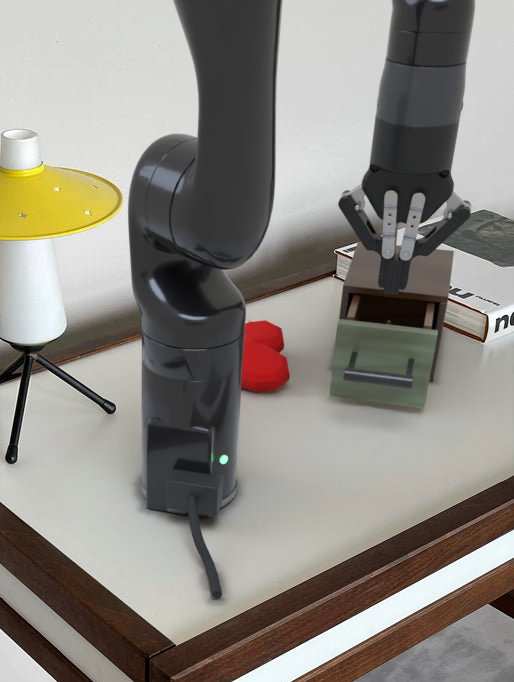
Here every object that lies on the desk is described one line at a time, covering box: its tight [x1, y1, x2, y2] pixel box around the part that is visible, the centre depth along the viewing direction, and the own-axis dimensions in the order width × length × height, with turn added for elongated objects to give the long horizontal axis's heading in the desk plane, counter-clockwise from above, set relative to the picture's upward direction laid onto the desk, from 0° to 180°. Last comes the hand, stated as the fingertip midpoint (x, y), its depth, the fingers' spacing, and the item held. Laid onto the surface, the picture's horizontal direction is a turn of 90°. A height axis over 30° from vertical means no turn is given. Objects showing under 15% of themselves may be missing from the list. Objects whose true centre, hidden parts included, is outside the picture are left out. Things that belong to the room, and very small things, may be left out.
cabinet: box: [338, 241, 455, 383], centre depth 122 cm, size 15×12×11 cm
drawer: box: [328, 293, 438, 409], centre depth 113 cm, size 19×10×9 cm, turn 163°
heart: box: [241, 319, 291, 393], centre depth 119 cm, size 12×4×10 cm
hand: (391, 291), depth 102 cm, fingers closed
